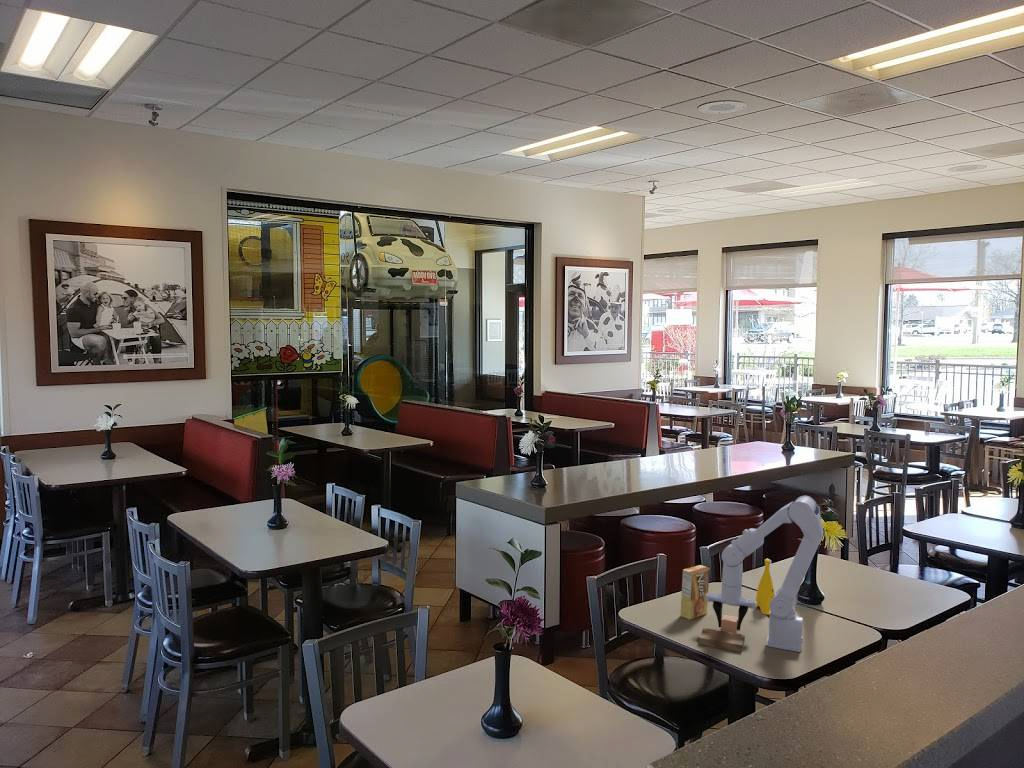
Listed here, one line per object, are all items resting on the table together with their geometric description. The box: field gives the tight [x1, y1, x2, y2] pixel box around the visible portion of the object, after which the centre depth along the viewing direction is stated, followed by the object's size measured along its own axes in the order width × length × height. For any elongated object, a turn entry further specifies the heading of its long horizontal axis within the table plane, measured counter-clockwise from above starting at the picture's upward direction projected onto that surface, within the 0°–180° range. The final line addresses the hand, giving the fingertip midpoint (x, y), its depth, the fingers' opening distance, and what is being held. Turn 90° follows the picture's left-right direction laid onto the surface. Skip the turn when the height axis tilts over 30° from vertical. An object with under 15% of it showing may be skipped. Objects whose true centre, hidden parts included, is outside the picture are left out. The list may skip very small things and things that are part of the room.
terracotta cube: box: [720, 614, 738, 634], centre depth 233 cm, size 4×4×4 cm
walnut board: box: [698, 627, 746, 653], centre depth 225 cm, size 12×8×2 cm, turn 68°
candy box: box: [679, 564, 711, 620], centre depth 245 cm, size 9×4×15 cm, turn 129°
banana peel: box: [755, 558, 775, 616], centre depth 254 cm, size 16×19×17 cm
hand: (729, 627), depth 233 cm, fingers open, 5 cm apart
